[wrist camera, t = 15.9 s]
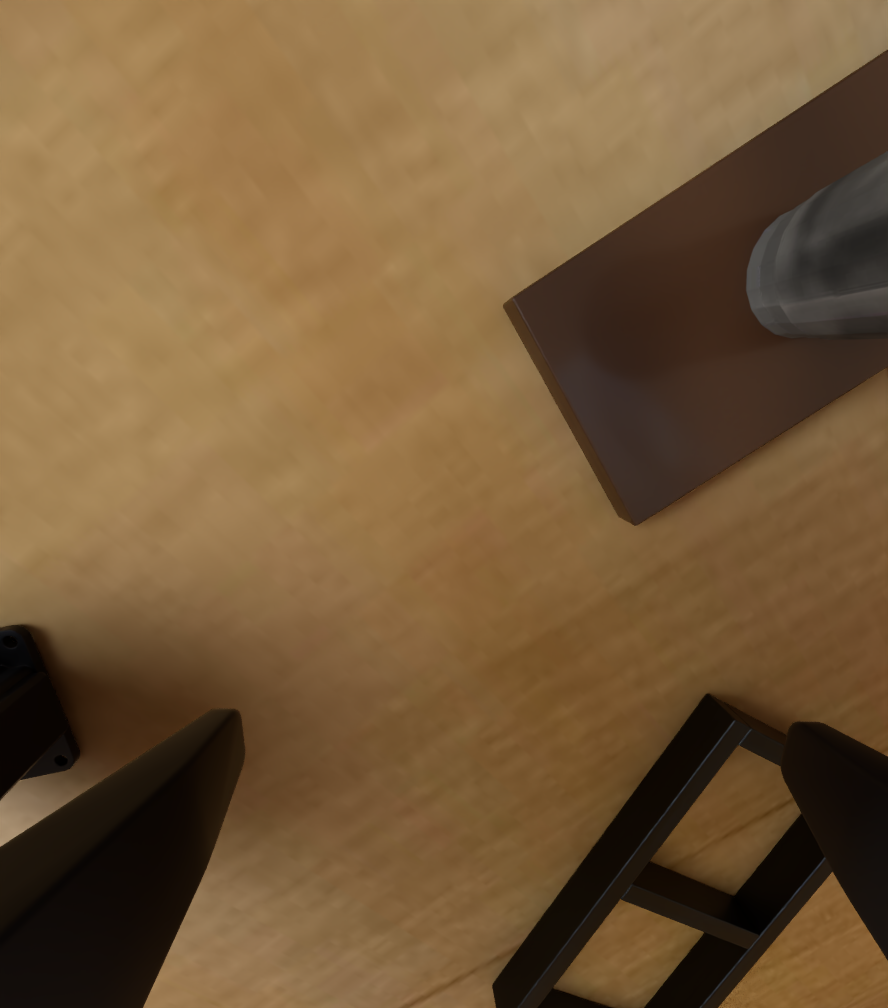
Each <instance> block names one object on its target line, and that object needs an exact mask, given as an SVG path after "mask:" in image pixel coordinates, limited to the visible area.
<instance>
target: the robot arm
mask: <svg viewBox="0 0 888 1008" xmlns="http://www.w3.org/2000/svg"><path fill="white" fill-rule="evenodd" d="M11 636H12V637H14V638H15V639H16V640H17V643H16V642H14V641H13V640H12V639H11ZM62 755H63V756H65V757H66V758H64V757H62ZM79 757H80V750H79V748H78V746H77V743H76V741H75V738H74V736H73V734H72V731H71V729H70V726H69V724H68V722H67V719H66V717H65V714H64V712H63V710H62V707H61V705H60V702H59V700H58V698H57V695H56V693H55V691H54V688H53V686H52V683H51V681H50V679H49V676H48V674H47V671H46V669H45V667H44V664H43V662H42V659H41V657H40V655H39V652H38V650H37V647H36V645H35V643H34V640H33V638H32V635H31V634H30V632H29V631H28V630H27V629H26V628H25V627H22V626H19V625H12V626H7V627H2V628H0V800H1V799H2V798H3V797H4V796H5V795H6V794H7V793H8V792H9V791H10V790H11V789H12V788H13V787H14V786H15V785H16V784H17V783H18V781H19V780H23V779H28V778H32V777H37V776H42V775H46V774H51V773H56V772H60V771H65V770H68V769H70V768H71V767H72V766H73V765H74V764H75V763H76V761H77V760H78V759H79ZM244 759H245V744H244V736H243V727H242V719H241V715H240V712H239V711H238V710H236V709H222V708H217V709H212V710H210V711H208V712H207V713H205V714H204V715H202V716H201V717H199V718H197V719H196V720H194V721H193V722H191V723H190V724H188V725H187V726H185V727H184V728H182V729H181V730H179V731H178V732H176V733H174V734H173V735H171V736H170V737H168V738H167V739H165V740H164V741H162V742H161V743H159V744H158V745H156V746H155V747H153V748H151V749H150V750H148V751H147V752H145V753H144V754H142V755H141V756H139V757H138V758H136V759H135V760H133V761H132V762H130V763H128V764H127V765H125V766H124V767H122V768H121V769H119V770H118V771H116V772H115V773H113V774H112V775H110V776H109V777H107V778H105V779H104V780H102V781H101V782H99V783H98V784H96V785H95V786H93V787H92V788H90V789H89V790H87V791H85V792H84V793H82V794H81V795H79V796H78V797H76V798H75V799H73V800H72V801H70V802H69V803H67V804H66V805H64V806H62V807H61V808H59V809H58V810H56V811H55V812H53V813H52V814H50V815H49V816H47V817H46V818H44V819H43V820H41V821H39V822H38V823H36V824H35V825H33V826H32V827H30V828H29V829H27V830H26V831H24V832H23V833H21V834H19V835H18V836H16V837H15V838H13V839H12V840H10V841H9V842H7V843H6V844H4V845H3V846H1V847H0V1008H143V1006H144V1004H145V1002H146V1000H147V998H148V995H149V993H150V991H151V989H152V987H153V984H154V982H155V980H156V978H157V976H158V974H159V971H160V969H161V967H162V965H163V963H164V960H165V958H166V956H167V954H168V952H169V950H170V947H171V945H172V943H173V941H174V939H175V937H176V934H177V932H178V930H179V928H180V926H181V923H182V921H183V919H184V917H185V915H186V913H187V910H188V908H189V906H190V904H191V902H192V899H193V897H194V895H195V893H196V891H197V889H198V886H199V884H200V882H201V880H202V877H203V875H204V873H205V870H206V868H207V865H208V863H209V860H210V858H211V855H212V852H213V850H214V847H215V844H216V841H217V838H218V835H219V832H220V830H221V827H222V824H223V821H224V818H225V815H226V813H227V810H228V807H229V804H230V801H231V798H232V796H233V793H234V790H235V787H236V784H237V781H238V778H239V776H240V773H241V770H242V767H243V764H244ZM780 764H781V772H782V775H783V778H784V781H785V783H786V784H787V786H788V788H789V790H790V792H791V794H792V796H793V798H794V800H795V801H796V803H797V805H798V807H799V809H800V811H801V813H802V815H803V817H804V818H805V820H806V822H807V824H808V826H809V828H810V830H811V832H812V833H813V835H814V837H815V839H816V841H817V843H818V845H819V847H820V849H821V850H822V852H823V854H824V856H825V858H826V860H827V862H828V864H829V866H830V867H831V869H832V871H833V873H834V875H835V876H836V878H837V880H838V882H839V883H840V885H841V887H842V888H843V890H844V892H845V893H846V895H847V897H848V898H849V900H850V902H851V903H852V905H853V906H854V908H855V910H856V911H857V913H858V914H859V916H860V918H861V919H862V921H863V922H864V924H865V925H866V927H867V929H868V930H869V932H870V933H871V935H872V936H873V938H874V940H875V941H876V943H877V944H878V946H879V947H880V949H881V951H882V952H883V954H884V955H885V957H886V959H887V960H888V756H886V755H884V754H882V753H880V752H878V751H876V750H874V749H872V748H870V747H868V746H866V745H864V744H863V743H861V742H859V741H857V740H855V739H853V738H851V737H849V736H847V735H845V734H843V733H841V732H839V731H837V730H836V729H834V728H832V727H830V726H828V725H826V724H824V723H820V722H801V721H798V722H794V723H792V724H791V726H790V727H789V729H788V733H787V737H786V741H785V745H784V749H783V753H782V757H781V762H780Z"/></svg>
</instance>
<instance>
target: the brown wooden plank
mask: <svg viewBox="0 0 888 1008" xmlns="http://www.w3.org/2000/svg"><path fill="white" fill-rule="evenodd" d="M887 151H888V50H886V51H885V52H883V53H882V54H880V55H879V56H877V57H876V58H874V59H873V60H871V61H869V62H868V63H866V64H865V65H863V66H862V67H860V68H859V69H857V70H856V71H854V72H853V73H851V74H850V75H848V76H847V77H845V78H844V79H842V80H841V81H839V82H838V83H836V84H835V85H833V86H832V87H830V88H829V89H827V90H826V91H824V92H823V93H821V94H819V95H818V96H816V97H815V98H813V99H812V100H810V101H809V102H807V103H806V104H804V105H803V106H801V107H800V108H798V109H797V110H795V111H794V112H792V113H791V114H789V115H788V116H786V117H785V118H783V119H782V120H780V121H779V122H777V123H776V124H774V125H773V126H771V127H769V128H768V129H766V130H765V131H763V132H762V133H760V134H759V135H757V136H756V137H754V138H753V139H751V140H750V141H748V142H747V143H745V144H744V145H742V146H741V147H739V148H738V149H736V150H735V151H733V152H732V153H730V154H729V155H727V156H726V157H724V158H723V159H721V160H719V161H718V162H716V163H715V164H713V165H712V166H710V167H709V168H707V169H706V170H704V171H703V172H701V173H700V174H698V175H697V176H695V177H694V178H692V179H691V180H689V181H688V182H686V183H685V184H683V185H682V186H680V187H679V188H677V189H676V190H674V191H673V192H671V193H669V194H668V195H666V196H665V197H663V198H662V199H660V200H659V201H657V202H656V203H654V204H653V205H651V206H650V207H648V208H647V209H645V210H644V211H642V212H641V213H639V214H638V215H636V216H635V217H633V218H632V219H630V220H629V221H627V222H626V223H624V224H623V225H621V226H619V227H618V228H616V229H615V230H613V231H612V232H610V233H609V234H607V235H606V236H604V237H603V238H601V239H600V240H598V241H597V242H595V243H594V244H592V245H591V246H589V247H588V248H586V249H585V250H583V251H582V252H580V253H579V254H577V255H576V256H574V257H573V258H571V259H569V260H568V261H566V262H565V263H563V264H562V265H560V266H559V267H557V268H556V269H554V270H553V271H551V272H550V273H548V274H547V275H545V276H544V277H542V278H541V279H539V280H538V281H536V282H535V283H533V284H532V285H530V286H529V287H527V288H526V289H524V290H523V291H521V292H519V293H518V294H516V295H515V296H513V297H512V298H511V299H510V300H508V301H507V302H506V303H504V305H503V307H504V309H505V311H506V313H507V315H508V316H509V318H510V320H511V322H512V324H513V325H514V327H515V329H516V331H517V333H518V335H519V336H520V338H521V340H522V342H523V344H524V345H525V347H526V349H527V351H528V353H529V355H530V356H531V358H532V360H533V362H534V364H535V365H536V367H537V369H538V371H539V373H540V375H541V376H542V378H543V380H544V382H545V384H546V385H547V387H548V389H549V391H550V393H551V394H552V396H553V398H554V400H555V402H556V404H557V405H558V407H559V409H560V411H561V413H562V414H563V416H564V418H565V420H566V422H567V424H568V425H569V427H570V429H571V431H572V433H573V434H574V436H575V438H576V440H577V442H578V443H579V445H580V447H581V449H582V451H583V453H584V454H585V456H586V458H587V460H588V462H589V463H590V465H591V467H592V469H593V471H594V473H595V474H596V476H597V478H598V480H599V482H600V483H601V485H602V487H603V489H604V491H605V493H606V494H607V496H608V498H609V500H610V502H611V503H612V505H613V507H614V509H615V511H616V512H617V514H618V516H619V517H620V518H622V519H624V520H626V521H627V522H629V523H631V524H633V525H635V526H636V525H639V524H640V523H642V522H643V521H645V520H646V519H648V518H650V517H651V516H653V515H654V514H656V513H657V512H659V511H661V510H662V509H664V508H665V507H667V506H669V505H670V504H672V503H673V502H675V501H676V500H678V499H680V498H681V497H683V496H684V495H686V494H687V493H689V492H691V491H692V490H694V489H695V488H697V487H698V486H700V485H702V484H703V483H705V482H706V481H708V480H710V479H711V478H713V477H714V476H716V475H717V474H719V473H721V472H722V471H724V470H725V469H727V468H728V467H730V466H732V465H733V464H735V463H736V462H738V461H739V460H741V459H743V458H744V457H746V456H747V455H749V454H751V453H752V452H754V451H755V450H757V449H758V448H760V447H762V446H763V445H765V444H766V443H768V442H769V441H771V440H773V439H774V438H776V437H777V436H779V435H780V434H782V433H784V432H785V431H787V430H788V429H790V428H792V427H793V426H795V425H796V424H798V423H799V422H801V421H803V420H804V419H806V418H807V417H809V416H810V415H812V414H814V413H815V412H817V411H818V410H820V409H821V408H823V407H825V406H826V405H828V404H829V403H831V402H833V401H834V400H836V399H837V398H839V397H840V396H842V395H844V394H845V393H847V392H848V391H850V390H851V389H853V388H855V387H856V386H858V385H859V384H861V383H863V382H864V381H866V380H867V379H869V378H870V377H872V376H874V375H875V374H877V373H878V372H880V371H881V370H883V369H885V368H886V367H888V339H847V340H826V339H821V338H806V337H800V338H792V339H791V338H787V337H783V336H779V335H775V334H774V333H772V332H771V331H769V330H768V329H767V328H765V327H764V326H762V325H761V323H760V322H759V320H758V319H757V317H756V316H755V314H754V313H753V312H752V310H751V307H750V303H749V299H748V295H747V292H746V283H747V268H748V264H749V261H750V258H751V254H752V251H753V248H754V247H755V245H756V243H757V242H758V240H759V239H760V237H761V235H762V234H763V232H764V230H765V229H766V228H767V227H769V226H770V225H771V224H772V223H773V222H774V221H775V220H776V219H777V218H778V217H779V216H780V215H783V214H785V213H787V212H789V211H791V210H793V209H794V208H795V207H797V206H798V205H800V204H801V203H803V202H805V201H806V200H808V199H810V198H811V197H812V196H813V195H814V194H815V193H816V192H818V191H820V190H821V189H823V188H825V187H826V186H828V185H830V184H832V183H833V182H835V181H837V180H839V179H840V178H842V177H844V176H845V175H847V174H849V173H851V172H852V171H854V170H856V169H858V168H859V167H861V166H863V165H864V164H866V163H868V162H870V161H871V160H873V159H875V158H877V157H878V156H880V155H882V154H883V153H885V152H887Z"/></svg>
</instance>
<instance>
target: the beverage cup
mask: <svg viewBox="0 0 888 1008" xmlns="http://www.w3.org/2000/svg"><path fill="white" fill-rule="evenodd" d="M746 292H747V295H748V299H749V303H750V307H751V310H752V312H753V313H754V314H755V316H756V317H757V319H758V320H759V322H760V323H761V325H762V326H764V327H765V328H767V329H768V330H769V331H771V332H772V333H774V334H775V335H779V336H783V337H787V338H791V339H792V338H800V337H806V338H821V339H826V340H847V339H888V151H887V152H885V153H883V154H882V155H880V156H878V157H877V158H875V159H873V160H871V161H870V162H868V163H866V164H864V165H863V166H861V167H859V168H858V169H856V170H854V171H852V172H851V173H849V174H847V175H845V176H844V177H842V178H840V179H839V180H837V181H835V182H833V183H832V184H830V185H828V186H826V187H825V188H823V189H821V190H820V191H818V192H816V193H815V194H814V195H813V196H812V197H811V198H810V199H808V200H806V201H805V202H803V203H801V204H800V205H798V206H797V207H795V208H794V209H793V210H791V211H789V212H787V213H785V214H783V215H780V216H779V217H778V218H777V219H776V220H775V221H774V222H773V223H772V224H771V225H770V226H769V227H767V228H766V229H765V230H764V232H763V234H762V235H761V237H760V239H759V240H758V242H757V243H756V245H755V247H754V248H753V251H752V254H751V258H750V261H749V264H748V268H747V283H746Z"/></svg>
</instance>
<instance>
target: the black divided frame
mask: <svg viewBox="0 0 888 1008" xmlns="http://www.w3.org/2000/svg"><path fill="white" fill-rule="evenodd" d="M786 737H787V735H785V734H783V733H782V732H780V731H778V730H776V729H774V728H772V727H770V726H768V725H766V724H765V723H763V722H761V721H759V720H757V719H755V718H753V717H751V716H749V715H748V714H746V713H744V712H742V711H740V710H738V709H736V708H734V707H732V706H731V705H729V704H727V703H725V702H723V701H721V700H719V699H717V698H716V697H714V696H712V695H710V694H706V695H705V697H704V698H703V700H702V701H701V702H700V704H699V705H698V706H697V708H696V709H695V710H694V712H693V713H692V714H691V716H690V717H689V719H688V720H687V721H686V723H685V724H684V725H683V727H682V728H681V729H680V731H679V732H678V733H677V735H676V736H675V738H674V739H673V740H672V742H671V743H670V744H669V746H668V747H667V748H666V750H665V751H664V752H663V754H662V755H661V757H660V758H659V759H658V761H657V762H656V763H655V765H654V766H653V767H652V769H651V770H650V771H649V773H648V774H647V776H646V777H645V778H644V780H643V781H642V782H641V784H640V785H639V786H638V788H637V789H636V790H635V792H634V793H633V795H632V796H631V797H630V799H629V800H628V801H627V803H626V804H625V805H624V807H623V808H622V809H621V811H620V812H619V814H618V815H617V816H616V818H615V819H614V820H613V822H612V823H611V824H610V826H609V827H608V828H607V830H606V831H605V833H604V834H603V835H602V837H601V838H600V839H599V841H598V842H597V843H596V845H595V846H594V847H593V849H592V850H591V852H590V853H589V854H588V856H587V857H586V858H585V860H584V861H583V862H582V864H581V865H580V866H579V868H578V869H577V871H576V872H575V873H574V875H573V876H572V877H571V879H570V880H569V881H568V883H567V884H566V885H565V887H564V888H563V890H562V891H561V892H560V894H559V895H558V896H557V898H556V899H555V900H554V902H553V903H552V904H551V906H550V907H549V909H548V910H547V911H546V913H545V914H544V915H543V917H542V918H541V919H540V921H539V922H538V923H537V925H536V926H535V928H534V929H533V930H532V932H531V933H530V934H529V936H528V937H527V938H526V940H525V941H524V942H523V944H522V945H521V947H520V948H519V949H518V951H517V952H516V953H515V955H514V956H513V957H512V959H511V960H510V961H509V963H508V964H507V966H506V967H505V968H504V970H503V971H502V972H501V974H500V975H499V976H498V978H497V979H496V980H495V982H494V983H493V985H492V987H493V993H494V998H495V1004H496V1008H609V1007H606V1006H603V1005H599V1004H596V1003H593V1002H590V1001H587V1000H584V999H581V998H578V997H575V996H572V995H569V994H566V993H563V992H560V991H557V990H554V989H552V988H553V987H554V985H555V984H556V983H557V981H558V980H559V979H560V977H561V976H562V975H563V973H564V972H565V971H566V970H567V968H568V967H569V966H570V964H571V963H572V962H573V960H574V959H575V958H576V956H577V955H578V954H579V953H580V951H581V950H582V949H583V947H584V946H585V945H586V943H587V942H588V941H589V939H590V938H591V937H592V936H593V934H594V933H595V932H596V930H597V929H598V928H599V926H600V925H601V924H602V922H603V921H604V920H605V918H606V917H607V916H608V915H609V913H610V912H611V911H612V909H613V908H614V907H615V905H616V904H617V903H618V901H619V900H620V899H621V900H624V901H626V902H629V903H631V904H634V905H636V906H639V907H641V908H644V909H647V910H649V911H652V912H654V913H657V914H659V915H662V916H665V917H667V918H670V919H672V920H675V921H677V922H680V923H683V924H685V925H688V926H690V927H693V928H695V929H698V930H701V931H703V932H706V933H705V934H704V935H703V936H702V938H701V939H700V940H699V941H698V943H697V944H696V945H695V946H694V948H693V949H692V950H691V951H690V953H689V954H688V955H687V956H686V957H685V959H684V960H683V961H682V962H681V964H680V965H679V966H678V967H677V969H676V970H675V971H674V972H673V974H672V975H671V976H670V977H669V978H668V980H667V981H666V982H665V983H664V985H663V986H662V987H661V988H660V990H659V991H658V992H657V993H656V995H655V996H654V997H653V998H652V999H651V1001H650V1002H649V1003H648V1004H647V1006H646V1007H645V1008H718V1007H719V1006H720V1005H721V1003H722V1002H723V1001H724V1000H725V999H726V998H727V996H728V995H729V994H730V993H731V992H732V990H733V989H734V988H735V987H736V986H737V984H738V983H739V982H740V981H741V980H742V979H743V977H744V976H745V975H746V974H747V973H748V971H749V970H750V969H751V968H752V967H753V965H754V964H755V963H756V962H757V961H758V959H759V958H760V957H761V956H762V955H763V954H764V952H765V951H766V950H767V949H768V948H769V946H770V945H771V944H772V943H773V942H774V940H775V939H776V938H777V937H778V936H779V935H780V933H781V932H782V931H783V930H784V929H785V927H786V926H787V925H788V924H789V923H790V921H791V920H792V919H793V918H794V917H795V915H796V914H797V913H798V912H799V911H800V910H801V908H802V907H803V906H804V905H805V904H806V902H807V901H808V900H809V899H810V898H811V896H812V895H813V894H814V893H815V892H816V891H817V889H818V888H819V887H820V886H821V885H822V883H823V882H824V881H825V880H826V879H827V877H828V876H829V875H830V874H831V873H832V872H833V871H832V869H831V867H830V866H829V864H828V862H827V860H826V858H825V856H824V854H823V852H822V850H821V849H820V847H819V845H818V843H817V841H816V839H815V837H814V835H813V833H812V832H811V830H810V828H809V826H808V824H807V822H806V820H805V818H804V817H803V815H802V814H801V815H800V817H799V818H798V819H797V820H796V822H795V823H794V824H793V825H792V827H791V828H790V829H789V830H788V831H787V833H786V834H785V835H784V836H783V838H782V839H781V840H780V841H779V843H778V844H777V845H776V846H775V848H774V849H773V850H772V851H771V852H770V854H769V855H768V856H767V857H766V859H765V860H764V861H763V862H762V864H761V865H760V866H759V867H758V869H757V870H756V871H755V872H754V873H753V875H752V876H751V877H750V878H749V880H748V881H747V882H746V883H745V885H744V886H743V887H742V888H741V890H740V891H739V892H738V893H737V894H736V896H735V897H733V896H730V895H728V894H726V893H723V892H721V891H718V890H716V889H714V888H711V887H709V886H706V885H704V884H702V883H699V882H697V881H694V880H692V879H690V878H687V877H685V876H682V875H680V874H678V873H675V872H673V871H670V870H668V869H666V868H663V867H661V866H658V865H656V864H654V863H651V862H649V861H650V860H651V858H652V857H653V856H654V854H655V853H656V852H657V850H658V849H659V848H660V846H661V845H662V844H663V843H664V841H665V840H666V839H667V837H668V836H669V835H670V833H671V832H672V831H673V829H674V828H675V827H676V826H677V824H678V823H679V822H680V820H681V819H682V818H683V816H684V815H685V814H686V812H687V811H688V810H689V808H690V807H691V806H692V805H693V803H694V802H695V801H696V799H697V798H698V797H699V795H700V794H701V793H702V791H703V790H704V789H705V788H706V786H707V785H708V784H709V782H710V781H711V780H712V778H713V777H714V776H715V774H716V773H717V772H718V770H719V769H720V768H721V767H722V765H723V764H724V763H725V761H726V760H727V759H728V757H729V756H730V755H731V753H732V752H733V751H734V750H735V748H736V747H737V746H738V745H740V746H742V747H744V748H745V749H747V750H749V751H751V752H753V753H755V754H757V755H759V756H761V757H763V758H765V759H767V760H769V761H771V762H773V763H775V764H777V765H779V766H781V764H780V762H781V757H782V753H783V749H784V745H785V741H786Z"/></svg>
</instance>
